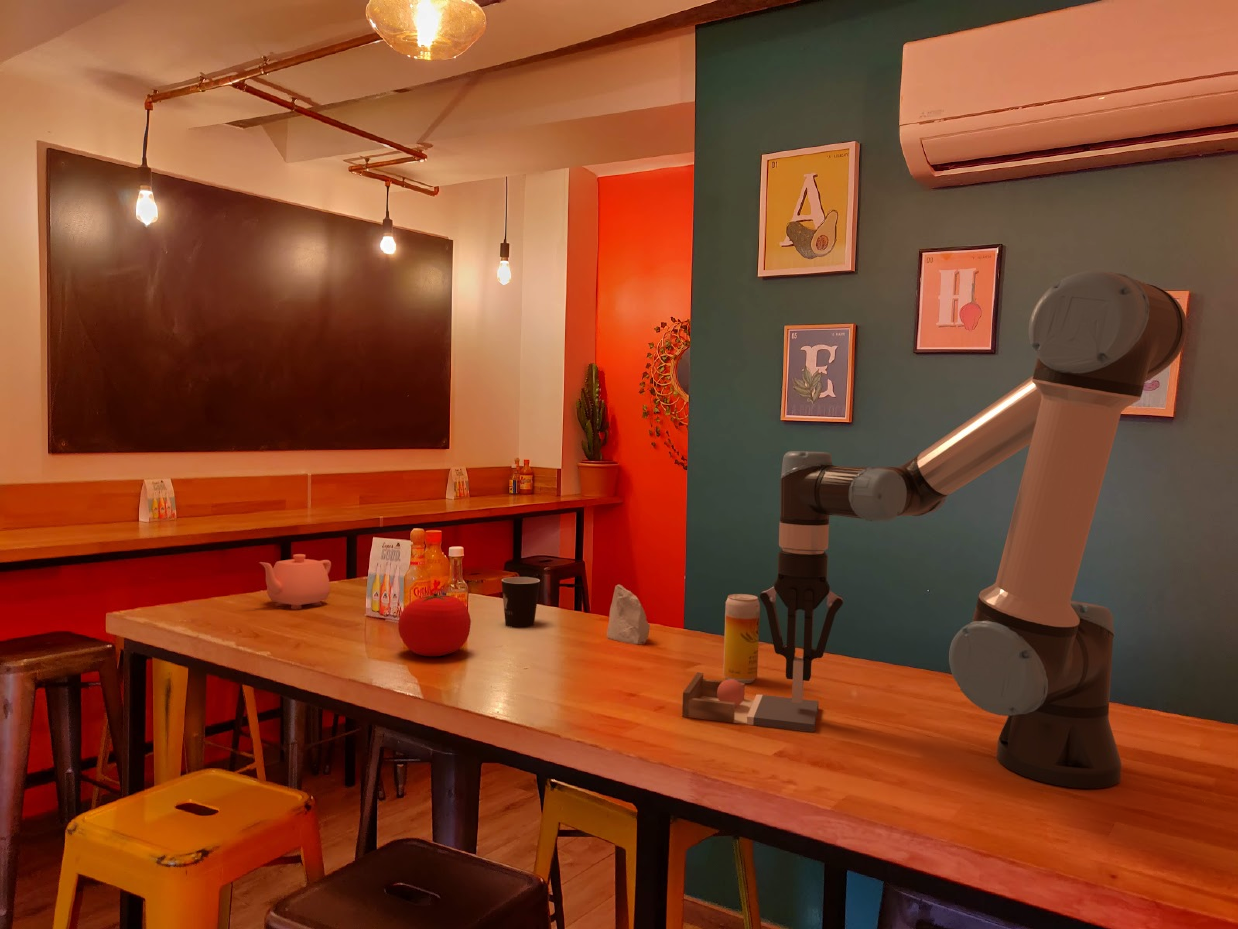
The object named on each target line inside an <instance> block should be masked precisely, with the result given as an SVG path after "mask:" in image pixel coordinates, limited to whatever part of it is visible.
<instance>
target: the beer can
mask: <svg viewBox="0 0 1238 929" xmlns="http://www.w3.org/2000/svg"><path fill="white" fill-rule="evenodd" d="M724 609H725V610H724V612H725V613H724V636H723V638H724V639H723V670H722V672H723V673H722V674H723V676H724V677H725V680H728V679H733V680H736V681H738V682H739V683H745V684H750V683H753V682H755V679H756V678H757V677H758V668H759V667H758V665H759V663H758V662H759V642H760V641H759V635H760V611H761V603H760V601H759V598H758V596H757V595H752V594H747V593H746V594H745V593H744V594H743V593H734V594H732V593H731V594H729V595H727V599H726V601H725V608H724Z"/></svg>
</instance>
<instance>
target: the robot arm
mask: <svg viewBox="0 0 1238 929" xmlns="http://www.w3.org/2000/svg"><path fill="white" fill-rule="evenodd" d="M1187 335H1188V320H1187V316H1186V313H1185V312H1184V309H1183V307H1182V306H1181V304H1180V302H1179V301H1178V300H1177V299H1176V298H1175V297H1174V296H1173V295H1172V294H1171V293H1169V292H1168V291H1166V290H1164V289H1162V288H1161V287H1158V286H1156V285H1153V284H1148V283H1144V282H1142V281H1139V280H1136V279H1134V278H1132V277H1130V276H1128V275H1126V274H1124V273H1116V272H1112V271H1108V272H1106V271H1103V270H1102V271H1101V270H1089V271H1087V270H1086V271H1081V272H1078V273H1074V274H1071V275H1069V276H1066V277H1064V278H1063V279H1061V280H1060V281H1058V282H1057V283H1055V284H1054V285H1052V286H1051V287H1050V288H1048V289H1047V290H1046V291H1045V292H1044V293H1043V295H1041V297H1040V298H1039V300H1038V301H1037V303H1036V305H1035V306H1034V307H1033V310H1032V312H1031V315H1030V317H1029V323H1028V338H1029V339H1028V340H1029V342H1030V345H1031V347H1032V350H1033V351H1034V354H1035V355H1036V358H1037V360H1036V364H1035V366H1034V372H1033V375H1032V376H1030V377H1029V378H1028V379H1026V380H1025V381H1023V382H1022V383H1020V384H1018V386H1016V387H1015V388H1013V389H1012V390H1009V392H1007V393H1006V394H1005V395H1003V396H1001V397H1000V398H998V399H997V400H996V401H995V402H993V403H991V404H990V405H988V406H987V407H985V408H984V409H983V410H981V411H980V412H978V413H977V414H976V415H973V417H971V418H969V419H968V420H967V421H965V422H964V423H963V424H961V425H960V426H958V427H956V428H955V429H954V430H952V431H951V432H948V434H946V435H945V436H943V437H941V438H940V439H939V440H937V441H935V443H933V444H932V445H930V446H929V447H927V448H926V449H924V450H923V451H922V452H920V453H919V454H917V455H916V456H914V457H913V458H911V459H910V460H908V461H907V462H906V463H904V464H902V465H900V466H893V467H892V466H887V467H886V466H885V467H884V466H883V467H882V466H881V467H878V466H877V467H871V466H869V467H867V466H866V467H865V466H864V467H863V466H861V467H860V466H859V467H858V466H837V465H834V464H833V461H832V460H833V459H832V455H831V454H830V453H829V452H827V451H826V452H824V451H823V452H822V451H806V450H805V451H803V450H801V451H800V450H799V451H798V450H790V451H787V452H786V453H785V454H784V455H783V459H782V464H781V474H780V475H781V476H780V480H779V481H780V518H779V530H778V533H779V535H778V546H779V547H780V548H781V550H779V552H778V556H777V557H778V558H777V560H778V562H777V577H776V580H775V581H774V584H773V586H772V587H771V588H769V589H767V590H762V592H761V593H760V595H759V598H760V600H761V602H762V604H763V606H764V607H765V609H766V613H767V614H766V615H767V620H768V625H769V630H770V634H771V640H772V644H773V645H772V646H773V650H774V653H775V654H776V655H780V656H783V657H784V658H785V679H787V680H792V687H791V688H792V689H791V693H792V694H791V698H792V702H796V703H802V700H803V699H804V682H809V681H810V679H811V677H812V661H813V660H815V659H821V658H823V656H824V653H825V650H826V647H827V644H828V640H829V636H830V633H831V630H832V627H833V623H834V620H835V617H836V613H837V612H838V611H839V610H840V609H841V607H842V606H843V603H844V598H843V596H840V595H838V594H835V593H834V592H833V591H831V588H830V585H829V582H828V560H829V555H828V554H827V553H826V552H825V551H826V550H828V549H829V537H830V536H829V533H830V532H829V531H830V528H829V527H830V516H837V517H838V516H839V517H845V518H852V519H859V520H865V521H868V522H873V521H874V522H876V521H877V522H881V521H882V522H887V521H888V522H889V521H893V520H895V519H896V518H897V517H903V516H905V517H906V516H911V517H912V516H913V517H920V516H925V515H927V514H930V513H934V512H936V511H937V510H939V509H940V508H941V507H942V506H943V504H945V501H946V499H947V497H948V496H949V495H952V493H954V492H955V491H957V490H959V489H960V488H962V487H964V486H965V485H967V484H968V483H970V482H971V481H973V480H974V479H976V478H978V477H979V476H981V475H983V474H985V472H987V471H989V470H991V469H993V467H996V466H997V465H999V464H1000V463H1002V462H1003V461H1005V460H1006V459H1008V458H1010V457H1011V456H1013V455H1014V454H1016V453H1018V452H1019V451H1021V450H1022V449H1024V448H1025V447H1027V446H1029V449H1028V452H1027V456H1026V461H1025V463H1024V468H1023V472H1022V477H1021V480H1020V484H1019V488H1018V492H1017V496H1016V500H1015V504H1014V507H1013V512H1012V515H1011V520H1010V524H1009V527H1008V532H1007V536H1006V540H1005V544H1004V548H1003V550H1002V554H1001V560H1000V563H999V568H998V571H997V576H996V579H995V582H994V583H993V584H992V585H990V586H988V587H986V588H983V589H982V590H981V591H980V592H979V594H978V597H977V601H976V605H975V610H974V613H973V617H972V621H971V622H970V623H968V624H966V625H964V626H963V627H961V628H960V630H959V631H957V633H955V635H954V637H953V639H952V641H951V643H950V646H949V651H948V664H949V667H950V672H951V675H952V678H953V680H954V681H955V682H956V683H957V686H958V687H959V689H960V691H961V693H962V694H963V695H964V696H965V697H966V698H967V699H968V700H969V701H970V702H971V703H972V704H973V705H975V706H976V707H978V708H980V709H982V710H983V711H985V712H987V713H990V714H994V715H996V716H1006V721H1005V722H1004V724H1003V726H1002V729H1001V732H1000V734H999V736H998V739H997V746H996V759H997V761H998V762H999V763H1000V765H1002V766H1003V767H1005V768H1006V769H1008V770H1010V771H1011V772H1014V773H1016V774H1018V775H1020V776H1022V777H1025V778H1028V779H1030V780H1031V779H1032V780H1035V781H1038V782H1041V783H1046V784H1049V785H1053V786H1054V785H1055V786H1059V787H1067V788H1075V789H1103V788H1104V789H1105V788H1109V787H1112V786H1113V787H1114V786H1115V785H1117V784H1118V783H1120V781H1121V779H1122V778H1121V777H1122V776H1121V775H1122V760H1121V757H1120V754H1119V750H1118V747H1117V743H1116V741H1115V736H1114V733H1113V730H1112V726H1111V724H1110V723H1111V722H1110V718H1109V715H1110V714H1109V713H1110V712H1109V710H1110V699H1111V698H1110V696H1111V678H1112V665H1113V664H1112V663H1113V662H1112V661H1113V646H1114V637H1115V635H1116V633H1115V630H1114V616H1113V613H1112V612H1111V610H1109V608H1107V607H1106V606H1103V605H1099V604H1094V603H1089V602H1088V603H1087V602H1083V601H1077V600H1072V596H1073V592H1074V590H1075V586H1076V582H1077V579H1078V574H1079V570H1080V566H1081V563H1082V559H1083V557H1084V556H1083V555H1084V552H1085V548H1086V544H1087V540H1088V537H1089V533H1090V529H1091V526H1092V523H1093V519H1094V515H1095V510H1096V508H1097V507H1096V506H1097V503H1098V500H1099V495H1100V492H1101V488H1102V485H1103V481H1104V478H1105V473H1106V471H1107V466H1108V462H1109V458H1110V455H1111V453H1112V452H1111V451H1112V448H1113V445H1114V441H1115V437H1116V433H1117V429H1118V427H1119V422H1120V419H1121V415H1122V412H1123V411H1124V410H1125V409H1127V408H1128V407H1130V406H1131V405H1133V404H1135V403H1137V402H1138V401H1140V400H1141V398H1142V395H1143V391H1144V387H1145V383H1146V382H1147V381H1149V380H1151V379H1152V378H1154V377H1156V376H1157V375H1159V374H1161V373H1162V372H1163V371H1165V370H1166V369H1167V368H1169V367H1170V366H1171V365H1172V363H1174V361H1175V360H1176V359H1177V358H1178V356H1179V355H1180V353H1181V352H1182V350H1183V348H1184V345H1185V343H1186V342H1187ZM777 595H778V597H779V599H781V601H782V603H783V605H785V607H786V608H787V628H786V630H787V631H786V645H784V640H783V635H782V630H781V626H780V621H779V617H778V611H777V608H776V603H775V602H776V601H777ZM825 598H826V599H827V600H826V606H827V608H828V609H827V611H826V615H825V618H824V623H823V625H822V629H821V632H820V634H819V639H818V642H817V645H816V648H813V638H814V636H813V635H814V614H815V613H814V612H815V611H814V610H816V609H817V608H818V607H819V606H820V604H821V603H822V602H823V600H825ZM800 610H801V611H803V612H804V622H803V624H804V625H803V626H804V627H803V628H804V629H803V647H802V648H803V652H802V656H796V646H797V645H796V643H797V641H796V640H797V616H798V611H800Z"/></svg>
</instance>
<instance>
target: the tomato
mask: <svg viewBox="0 0 1238 929" xmlns="http://www.w3.org/2000/svg"><path fill="white" fill-rule="evenodd" d="M471 620H472V619H471V614H470V612H469V610H468V608H467V606H466V604H465V603H464V602H463V601H462V600H461V599H460V598H458V597H455V596H453V595H446V594H445V595H444V594H438V593H436V592H434V593H433V595H432V594H431V595H425V596H423V595H421V596H419V597H418V598H416V599H414V600H412V601H411V602H409V603H408V604H407V605H406V606H405V607H404V608H403V610H402V612H401V613H400V615H399V617H398V622H397V623H398V627H397V628H398V633H399V637H400V638H401V640H402V641H403V644H404V645H405V646H406V647H407V648H408V650H410V651H411V652H413V653H414V654H416V655H420V656H424V657H441V656H445V655H450V654H452V653H454V652H457V651H458V650H459V649H460V648H462V647H463V645H465V643H467V641H468V638H469V635H470V630H471V626H472V625H471V623H472V621H471Z"/></svg>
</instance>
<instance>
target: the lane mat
mask: <svg viewBox="0 0 1238 929" xmlns="http://www.w3.org/2000/svg"><path fill="white" fill-rule="evenodd" d="M700 699H707V700H715V701H719V699H718V698H715V697H707V696H701V698H700ZM818 712H819V700H814V699H813V700H812V699H804V698H803V700H802V703H796V702H792V697H783V696H776V695H767V694H757V693H756V695H755V697H754V698H753V699H749V698H744V700H743V701H742V703H741V704H740V705H738V706H736V707H735V719H734V723H733V724H741V725H742V724H743V725H749V726H759V727H769V728H775V729H784V730H793V731H800V732H807V733H815V728H816V723H817V722H816V721H817V716H818Z"/></svg>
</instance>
